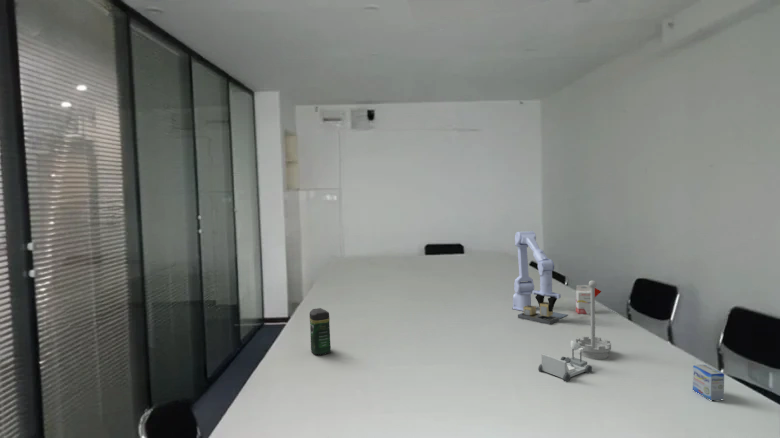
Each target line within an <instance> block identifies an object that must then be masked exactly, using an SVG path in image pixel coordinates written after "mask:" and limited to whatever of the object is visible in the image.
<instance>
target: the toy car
mask: <svg viewBox="0 0 780 438" xmlns="http://www.w3.org/2000/svg"><path fill="white" fill-rule="evenodd" d="M577 342H578V341H577ZM577 342H576V340H570V348H571V351H572V356H571V357H569V356H568V357H566V356H561V357H560V358H557V357H554V356H551V355H548V354H545V353H542V354H541V363H540V364H539V365H538V368H537V369H538V372H540V373H542V372H545V373H548V374H550V375H554V377H555V376H556V377H558V378H561V379H562V380H563V382H565V381H567V382H568V380H569V381H570V380H571V378H572V377H574V376H577V375H580V374H582V373H584V372H585V373H586V374H589V372H590V373H592V371H593V368H592V365H590V364H588V361H586V360H583V359H582V356H581V352H583V351H584V348H580V347H581V345H580V344H578V343H577ZM574 351H577V352H578V353H579V352H580V354H579V356H580V357H579V358H577V357H575V356H574Z"/></svg>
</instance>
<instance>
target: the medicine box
mask: <svg viewBox="0 0 780 438" xmlns="http://www.w3.org/2000/svg"><path fill="white" fill-rule="evenodd" d="M692 366H693V367H692V391H693V390H694V391H695V392H694V391H693V392H694V393H696V392H697V393H696V394H698V393H699V394H701V395H703V396H704V397H703V396H702V397H703V398H705V397H706V398H705V399H707V398H708V399H710V400H721V399H724V400H725V374H724V373H723V372H721V371H719V370H717V369H716V368H712V367H711V366H709V365H707V364H694V365H692ZM699 394H698V395H699ZM701 395H700V396H701ZM708 399H707V400H708ZM710 400H709V401H710ZM721 401H722V400H721Z"/></svg>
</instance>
